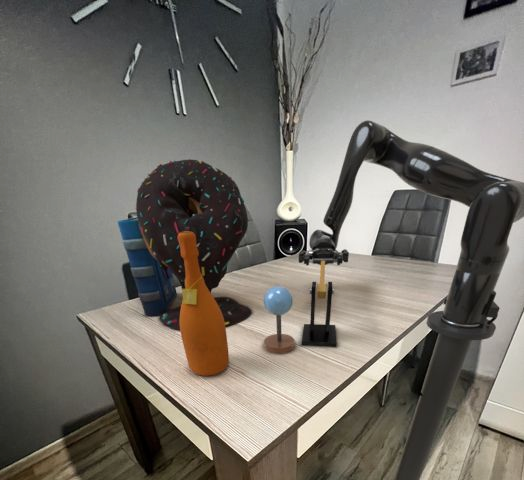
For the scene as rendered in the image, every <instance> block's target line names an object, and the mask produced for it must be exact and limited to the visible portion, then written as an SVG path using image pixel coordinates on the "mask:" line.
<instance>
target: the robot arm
mask: <svg viewBox="0 0 524 480" xmlns="http://www.w3.org/2000/svg"><path fill="white" fill-rule="evenodd" d="M363 163H369V164H374V165H378V166H380V167H383V168H386V169H389V170H390V171H392V172H393V173H394V174H395V175H396V176H397V177H398V178H399V179H400V180H401V181H403V182H404V183H405V184H407V185H408V186H410V187H411V188H414V189H415V190H417V191H420V192H421V193H424V194H427V195H430V196H433V197H436V198H441V199H446V200H449V201H453V202H457V203H460V204H462V205H464V206H466V207H468V211H467V214H466V218H465V221H464V226H463V231H462V234H461V238H460V254H459V257H458V261H457V263H456V268H455V271H454V274H453V277H452V281H451V284H450V287H449V290H448V294H447V297H446V298H445V299H444V301H443V305H444V307H443V310H442V311H443V313H442V316H441V320H442V321H443V322H444V323H446V324H448V325H451V326H454V327H459V328H468V329H471V328H478V327H480V328H483V327H484V324H485V321H486V319H488V318H491V319H489V320H490V321H488V322H487V324H489V325H490V324H491V323H492V322H493V323H494V322H495V321H496V320H497V319H498V316H499V312H500V309H501V308H500V306H499V305H498V304H497V303H496V302H495V298H496V296H497V292H496V291H495V289H496V287H497V284H498V281H499V278H500V275H501V273H502V271H503V268H504V265H505V262H506V260H507V258H508V255H509V252H510V246H509V245H508V240H509V237H510V234H511V230H512V227H513V224H514V223H516V222H519V221H520V220H522V219H523V218H524V182H523V181H520V180H516V179H511V178H508V177H503V176H500V175H498V174H497V175H496V174H493V173H490V172H486V171H484V170H482V169H480V168H478V167H476V166H474V165H473V164H471V163H469V162H467V161H465V160H463V159H461V158H459V157H457V156H455V155H453V154H451V153H449V152H447V151H445V150H442V149H440V148H438V147H435V146H433V145H429V144H426V143H420V142H413V141H408V140H405V139H403V137H402V138H401V137H400V136H399V135H397V134H396V133H395V132H393V131H391V130H390V129H388V128H387V127H385V125H382V124H380V123H377V122H375V121H372V120H364V121H362V122H361V123H359V124H358V125H357V126H356V127H355V129H354V130H353V132H352V134H351V136H350V139H349V142H348V146H347V147H346V153H345V156H344V160H343V163H342V166H341V169H340V172H339V173H340V174H339V177H338V181H337V183H336V188H335V190H334V193H333V196H332V198H331V201H330V203H329V206H328V208H327V210H326V213H325V215H324V217H323V221H322V222H323V224H324V225H325V226H326V227H327V228H329V229H330V230H331V231H332V233H330V232H327V231H325V230H322V229H316V230H314V231H312V233H311V234H310V237H309V241H308V242H309V243H308V244H309V248H310V249H311V250H309V252H307V251H305V250H304V249H302V250H300V251H299V253H298V263H299V264H302V263H303V264H304V265H305V266H310V264H313V258H333V264H335V263H336V265H337V266H340V265H341V264H343V263H348V262H349V256H350V252H349V251H348V249H342V250H341V251H340V252H339V250H337V248H338V243H339V238H340V234H341V230H342V227H343V225H344V222H345V220H346V218H347V216H348V214H349V212H350V210H351V207H352V204H353V198H354V191H355V189H354V188H355V183H356V179H357V175H358V173H359V170H360V168H361V167H362V165H363ZM318 265H319V266H321V264H318ZM327 265H328V264H325V266H327Z"/></svg>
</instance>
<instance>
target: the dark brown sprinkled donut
mask: <svg viewBox="0 0 524 480" xmlns="http://www.w3.org/2000/svg"><path fill="white" fill-rule="evenodd" d="M135 202H136V203H135V204H136V205H135V211H136V217H137V218H138V223H139V228H140V230H141V233H142V236H143V238H144V241H145V243H146V246H147V248H148V250H149V252H150V253H151V255H152V256H153V257H154V258H155V259H156V260H157V261H158V262H159V264H160V266H161V267H162V269H163V270H164V271H165V273H166V278H167V279H169V275H168V272H167V269H168V268H170V270H171V272H172V275H174V276H175V278H176V279H177V281H178V283H179V284H180V286H181V287H180V288H181V290H182V291H183V289H185V279H186V271H185V263H184V259H183V258H182V256H181V249H180V244H179V241H178V234H179V233H181V232H184V231H191V232H193V233H194V234H195V236H196V245H197V250H198V253H199V255H198V257H197V259H198V264H199V268H200V272H201V274H202V276H203V279H204V282H205V285H206V286H207V288H208V290H209V291H210V293H211V294H212V290H213V289H216V288H218V287H219V285H220V282H221V281H222V279H224V278H225V276H226V274H227V272H228V265H229V262H230V260H231V259H232V257H233V255H234V254H235V252H236V251H237V249H238V248H239V246H240V244H241V242H242V241H243V238H244V237H245V235H246V233H247V231H248V226H249V216H248V212H247V208H246V204H245V200H244V199H243V197H242V194H241V191H240V189H239V186H238V184H237V183H236V181H235V180H233V178H232V177H231V176H229V174H227V173H225V172H224V171H223V170H220V169H219V168H217V167H215V166H214V165H211V164H210V163H207V162H204V160H199V159H191V158H188V159H181V160H173V161H172V160H169V162H167V163H164V164H162V163H160V164H158V165H157V166H156V168H154V169H153V170H152V171H151V172H150V173H147V175H146V176H145V178H143V181H141V184H140V186H139V187H138V188H137V195H136V201H135ZM213 298H214V299H215V301H216V302H217V304H218V306H219V308H220V310H221V312H222V315H223V318H224V322H225V328H226V327H230V326H232V325H235V324H237V323H240V322H242V321H245V320H246V319H248V318H249V317H250V316H251V315H252V313H253V312H252V310H251V308H250V307H249V306H246V305H244V304H241V303H239V302H238V301H237V300H235V299H234V298H232V297H228V296H217V297H213ZM180 310H181V305H180V306H177V307H174V308H173V307H172V308H171V309H168V310H167V311H166V312H165V313H163V314H161V315H159V322H161V324H162V325H163V326H166V327H168V328H169V329H171V330H176V331H180V323H179V320H180Z"/></svg>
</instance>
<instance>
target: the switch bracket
mask: <svg viewBox="0 0 524 480" xmlns="http://www.w3.org/2000/svg"><path fill="white" fill-rule="evenodd" d="M334 294H335V288H333V281H328V282H327V290H326V309H325V322H324V324H319V323H318V324H316V323H315V318H316V317H315V316H316V298H317V281H312V282H311V287H310V288H309V295H310V317H309V318H310V319H309V320H310V321H309V322H310V323H303V328H302V334H301V335H302V336H301V342H300V345H301V346H305V347H307V346H308V347H325V348H326V347H328V348H337V346H338V339H337V329H336V327H337V325H336V324H331V313H332V301H333V299H332V298H333V295H334Z"/></svg>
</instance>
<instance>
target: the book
mask: <svg viewBox="0 0 524 480" xmlns="http://www.w3.org/2000/svg"><path fill="white" fill-rule="evenodd" d="M117 225H118V228H119V232H120V235H121V238H122V244H123V247H124V250H125V253H126V255H127V259H128V262H129V266H130V272H131V274H132V277H133V280H134V283H135V286H136V289H137V294H138V298H139V301H140V303H141V306H142V309H143V313H144V315H145V316H147V317H154V316H155V317H156V316H161V315H162V314H163V313H165V312H166V311H168V310H169V308H170V307H171V304H172V303H173V301H174V300H175V298H176V296H177V294H178V292H177V289H176V284H175V283H176V282H175V280H174V279H175V278H174V276H173V275H174V274H173V273H172V272H171V270H170V268H168V269H167V272H168V275H169V279H167V278H166V273H165V271H164V270H163V269H162V267H161V266H160V264H159V262H158V261H157V260H156V259H155V258H154V257H153V256H152V255H151V253H150V252H149V250H148V248H147V246H146V243H145V241H144V238H143V236H142V233H141V230H140V228H139V223H138V218H137V216H136V217H135V216H134V217H131V218H126V219H121V220H117Z"/></svg>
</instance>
